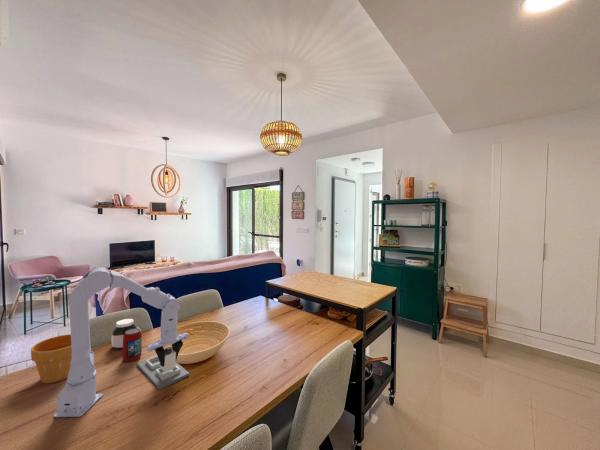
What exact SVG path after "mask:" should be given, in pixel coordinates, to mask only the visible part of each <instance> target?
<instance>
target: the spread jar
mask: <svg viewBox="0 0 600 450" xmlns="http://www.w3.org/2000/svg"><path fill="white" fill-rule="evenodd" d="M134 328H138V329H140V331H141V332H142V330H141V328H140V327H139V326H137V325H136V324H135V323H134V319H133V318H124V319H121V320H118V321H116V323H115V327H114V328H113V330H112V331H111V338H110V339H111V346H112V348H113V349H115V350H123V336H124V334H125V332H126V331H127V330H129V329H134Z"/></svg>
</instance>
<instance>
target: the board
mask: <svg viewBox="0 0 600 450" xmlns="http://www.w3.org/2000/svg"><path fill="white" fill-rule="evenodd" d="M136 366H137V367H138V368H139V370H141V372H142V373H143V374H144V375H145V376H146V377H147V378H148V379H149V381H151V382H152V384H153V385H154V386H155V387H156V388H157V389H158V390H162V389H164V388H167V387H168V386H170V385H172V384H174V383H176V382H178V381H181V380H183V379H185V378H187V377H189V376H190V372H189V371H188V370H187V369H185V368H184V367H183V366H181V365H180V363H178V362H177V363H176V367H175V368H173V369H171V370H168V371H166V372H164V371H163V370H162V369H161V368H160V362H159V358H158V356H157V355H155V356H152V357H149V358H147V359H145V360H142V361H139V362H137V363H136Z"/></svg>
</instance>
